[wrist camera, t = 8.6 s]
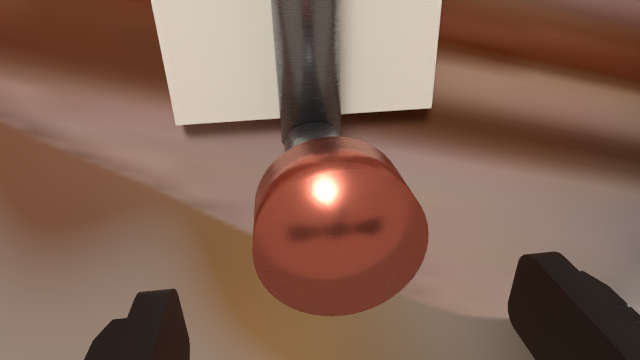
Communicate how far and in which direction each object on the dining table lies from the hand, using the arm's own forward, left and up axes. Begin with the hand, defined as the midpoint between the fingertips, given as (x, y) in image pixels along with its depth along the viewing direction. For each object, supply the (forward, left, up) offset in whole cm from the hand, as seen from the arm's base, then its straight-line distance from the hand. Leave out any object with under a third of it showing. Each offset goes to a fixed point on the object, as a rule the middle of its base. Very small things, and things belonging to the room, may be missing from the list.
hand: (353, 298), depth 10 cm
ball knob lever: (-7, 0, -12) cm, 14 cm away
